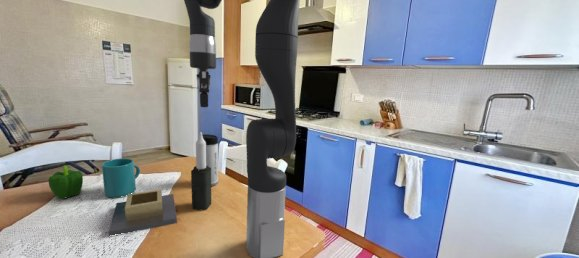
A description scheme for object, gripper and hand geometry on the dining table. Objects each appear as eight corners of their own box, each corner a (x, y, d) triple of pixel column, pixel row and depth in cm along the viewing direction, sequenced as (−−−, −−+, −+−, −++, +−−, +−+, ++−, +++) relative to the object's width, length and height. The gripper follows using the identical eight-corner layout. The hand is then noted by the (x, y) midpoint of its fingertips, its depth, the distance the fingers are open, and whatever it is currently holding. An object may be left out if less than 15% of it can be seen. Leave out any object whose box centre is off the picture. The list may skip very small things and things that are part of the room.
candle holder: (176, 222, 70) (176, 205, 69) (108, 237, 62) (106, 217, 61) (173, 198, 84) (172, 183, 83) (117, 207, 76) (115, 191, 75)
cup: (149, 187, 91) (147, 158, 89) (116, 201, 80) (113, 168, 78) (131, 182, 94) (129, 154, 92) (98, 195, 83) (95, 164, 81)
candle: (212, 202, 82) (211, 130, 77) (206, 210, 77) (204, 134, 72) (198, 201, 83) (196, 129, 78) (190, 208, 78) (188, 133, 73)
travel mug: (200, 181, 98) (199, 133, 94) (216, 179, 101) (216, 132, 97) (201, 187, 93) (200, 137, 89) (219, 185, 95) (219, 136, 91)
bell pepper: (79, 199, 80) (75, 170, 78) (46, 202, 76) (41, 173, 74) (88, 188, 87) (85, 162, 85) (59, 191, 84) (55, 163, 82)
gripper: (217, 50, 68) (218, 108, 71) (214, 55, 81) (214, 104, 84) (188, 48, 65) (190, 108, 68) (190, 53, 78) (191, 103, 81)
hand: (204, 105), depth 76 cm, fingers open, 8 cm apart
